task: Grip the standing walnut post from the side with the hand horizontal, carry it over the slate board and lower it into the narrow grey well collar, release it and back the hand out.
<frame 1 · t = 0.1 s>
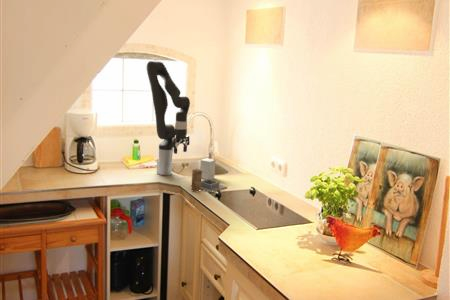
hand: (180, 152, 303), 17 cm above the worktop, tool pointing down, fingers open, 8 cm apart
well board: (208, 187, 294), on the worktop
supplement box: (207, 178, 313), on the worktop
walnut post: (195, 190, 284), on the worktop
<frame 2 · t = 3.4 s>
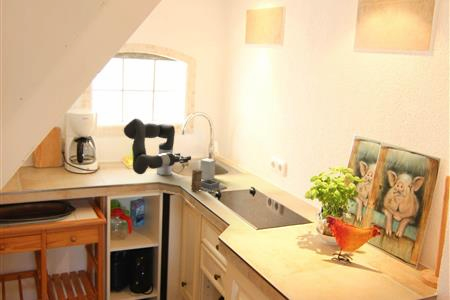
hand: (185, 156, 271), 23 cm above the worktop, tool horizontal, fingers open, 8 cm apart
nothing on the worktop moved.
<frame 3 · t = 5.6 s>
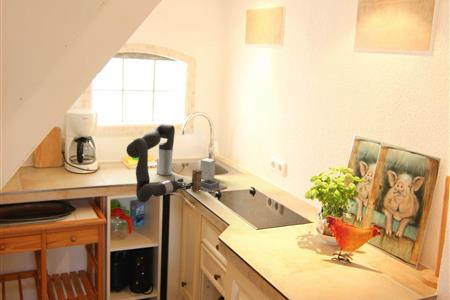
hand: (187, 182, 276), 7 cm above the worktop, tool horizontal, fingers open, 8 cm apart
nothing on the worktop moved.
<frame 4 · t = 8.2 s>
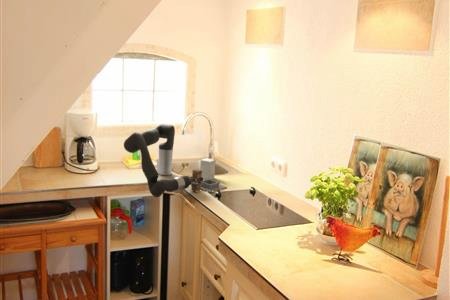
hand: (199, 178, 285), 8 cm above the worktop, tool horizontal, fingers closed on walnut post, 4 cm apart
walnut post: (195, 190, 284), on the worktop, touching gripper
everything else where it was.
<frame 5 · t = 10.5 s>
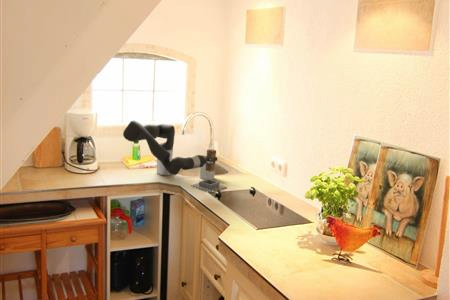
hand: (213, 158, 292), 18 cm above the worktop, tool horizontal, fingers closed on walnut post, 4 cm apart
walnut post: (210, 170, 291), point 11 cm above the worktop, touching gripper
everything else where it was.
when the fingers open (9 cm above the worktop, at t = 13.0 s): walnut post drops 1 cm, resting on well board.
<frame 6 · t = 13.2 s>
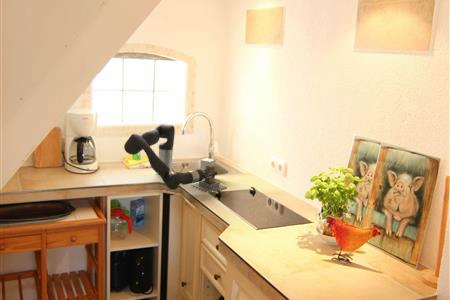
hand: (212, 171, 293), 10 cm above the worktop, tool horizontal, fingers open, 6 cm apart
walnut post: (208, 185, 294), point 1 cm above the worktop, touching well board
everything else where it was.
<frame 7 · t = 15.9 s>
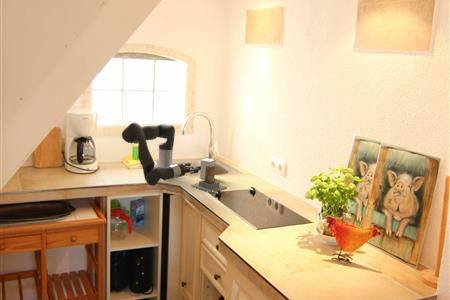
hand: (195, 166, 280), 16 cm above the worktop, tool horizontal, fingers open, 8 cm apart
nothing on the worktop moved.
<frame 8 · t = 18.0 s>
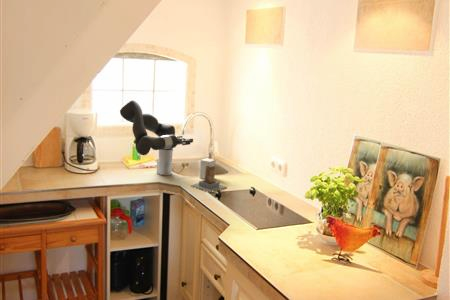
hand: (187, 139, 275), 32 cm above the worktop, tool horizontal, fingers open, 8 cm apart
nothing on the worktop moved.
at the end: walnut post 0.1 cm off-centre on the well board, point 0.8 cm above the well board's base; walnut post tilted 0°; the gripper is holding nothing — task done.
